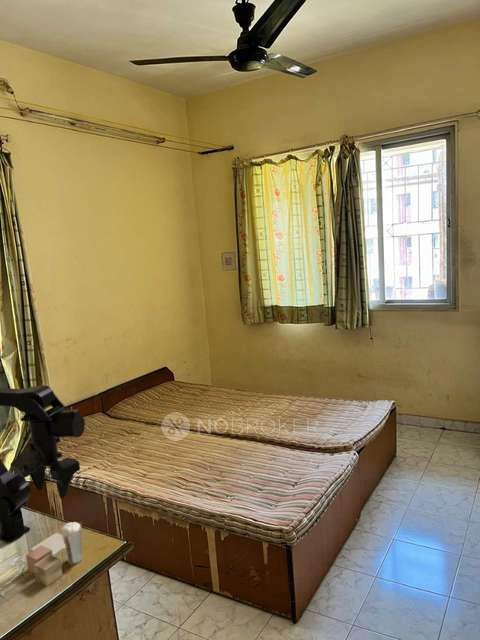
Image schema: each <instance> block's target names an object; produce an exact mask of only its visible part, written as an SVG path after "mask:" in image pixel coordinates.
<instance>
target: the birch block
mask: <svg viewBox="0 0 480 640" xmlns="http://www.w3.org/2000/svg"><path fill="white" fill-rule="evenodd" d="M34 569H35V573H34V576H35V581H36V582H38V583H40V584H42V585H44V586H47V587H48V586H50V585H51V584H52V583H54V582H55V581H57V580H58V579H60V577H62V576H63V568H62V561H61V559H60V558H58V557H57V556H56V557H54V556H51V555H48V556H46V557H45V558H43V559H42V560H40V561H39V562H37V563H36V564H34Z"/></svg>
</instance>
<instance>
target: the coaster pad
mask: <svg viewBox="0 0 480 640" xmlns="http://www.w3.org/2000/svg"><path fill="white" fill-rule="evenodd" d="M39 546H44V547H46V548H49V549H51V550H52V555H53V556H54V557H56V558H57V556H60V554H62V553H63V552H65V547H64V543H63V539H62V535H61V533H58V532H55V533H54V534H52V535H50V536H49V537H47V538H45V539H44V540H42V541H41V542H39V543H38V544H36V545H35V546H33V547H31V548H30V552H32V551H33V550H35V549H36V548H38V547H39Z"/></svg>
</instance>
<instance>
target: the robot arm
mask: <svg viewBox="0 0 480 640" xmlns="http://www.w3.org/2000/svg"><path fill="white" fill-rule="evenodd" d="M51 388H52V387H50V386H48V385H45V384H43V385H37V386H36V385H35V386H30V387H26V388H9V387H8V388H7V387H0V407H10V408H11V407H12V408H14V409H17V410H18V411H19V412H22V413H25V414H24V415H23V416H22V417H21V418H20V421H21V422H28V424H29V429H30V436H31V437H30V438H31V441H30V442H28V444H27V450H26V451H23V452H21V453H19V454H17V456H16V457H15V459H14V460H13V461H11V462H10V467H11V469H12V470H13V472H14V473H12V472H10V471H9V469H8V468H7V467H6V465H5V464H4V462H3V461H2V460H1V459H0V541H4V542H5V543H11V542H12V541H14V540H15V539H17V538H19V537H21V536H22V535H24V534H26V533H28V532H29V531H30V530H31V527H29V526H27V525H25V522H24V517H23V511H22V508H23V507H24V506H26V505H27V504H28V500H29V499H30V497H31V492H32V490H31V487H30V482H28V480H27V479H26V478H28V477H30V478H31V479H32V482H33V483H34V485H35V488H36V489H37V491H38V492H41V491H42V490H43V487H44V482H45V471H46V467H47V468H49V474H50V479H51V480H53V481H54V482H55V484H56V488H57V492H58V495H59V498H60V499H61V500H62V499H64V498H65V497H66V495H67V492H68V489H69V487H70V483H71V481H72V479H73V477H74V475H75V474H76V473H78V472H79V471H80V470H81V466H80V461H79V460H77V459H75V458H70V457H65V458H62V457H63V453H62V452H60V451H59V449H58V444H57V443H60V442H61V438H80V437H81V436H82V435H83V434H84V431H85V427H86V421H85V419H84V417H83V415H82V414H81V413H80V411H79V409H78V408H77V409H68V410H67V409H66V406H65V404H64V403H63V402H62V401H61V400H60V399H59V397H58V396H57V395H56V394H55V392H54V390H53V389H51ZM48 408H49V409H48ZM46 409H47V410H46ZM59 458H62V459H61V460H59Z"/></svg>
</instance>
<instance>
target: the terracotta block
mask: <svg viewBox="0 0 480 640" xmlns="http://www.w3.org/2000/svg"><path fill="white" fill-rule="evenodd" d="M48 555H51V556H53V555H52V550H51V549H49V548H46V547H44V546H39V547H38V548H36V549H35V550H33V551H32V552H31V551H30V552H28V553H27V554H26V555H25V557H26V563H27V564H26V565H27V570H28V571H27V572H31V573H32V574H35V569H34V564H36V563H37V562H39V561H40V560H42V559H43V558H45V557H46V556H48Z"/></svg>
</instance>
